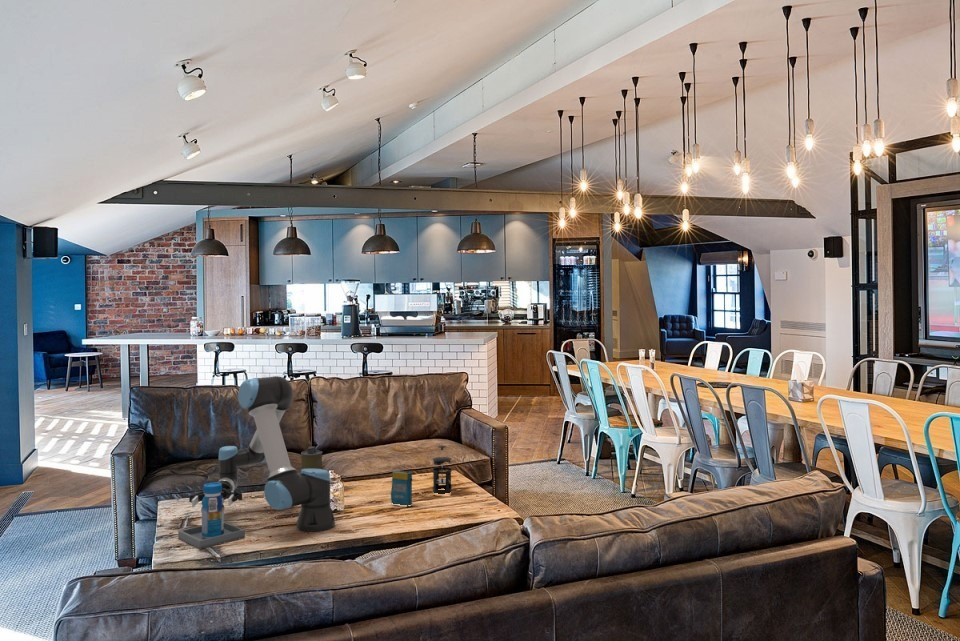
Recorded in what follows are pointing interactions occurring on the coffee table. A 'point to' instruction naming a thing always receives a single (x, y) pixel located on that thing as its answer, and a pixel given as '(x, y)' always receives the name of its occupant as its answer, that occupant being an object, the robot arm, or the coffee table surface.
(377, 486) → the coffee table surface
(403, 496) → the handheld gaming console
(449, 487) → the french press
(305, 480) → the robot arm
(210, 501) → the beverage bottle
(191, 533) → the tray
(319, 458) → the canister
